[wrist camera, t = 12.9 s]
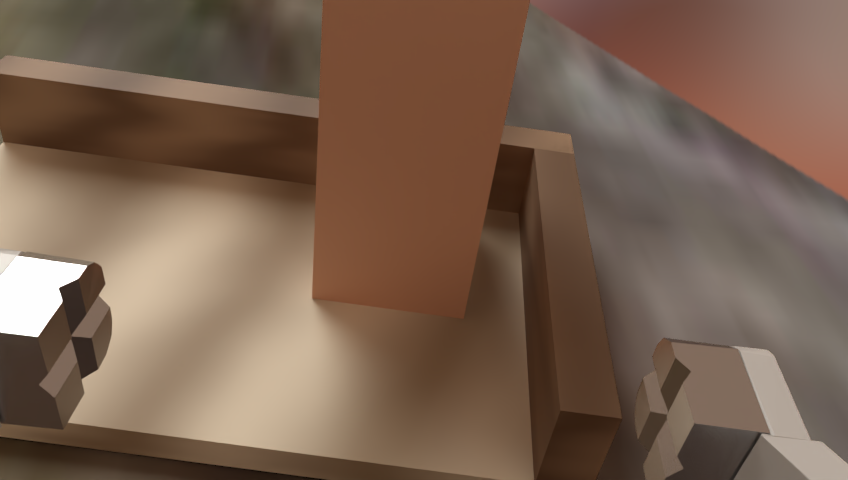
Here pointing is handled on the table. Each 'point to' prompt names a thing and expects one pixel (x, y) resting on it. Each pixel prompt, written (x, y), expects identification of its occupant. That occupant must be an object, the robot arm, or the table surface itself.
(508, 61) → the terracotta block
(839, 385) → the table surface
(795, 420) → the robot arm
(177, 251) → the board
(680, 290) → the table surface
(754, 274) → the table surface
